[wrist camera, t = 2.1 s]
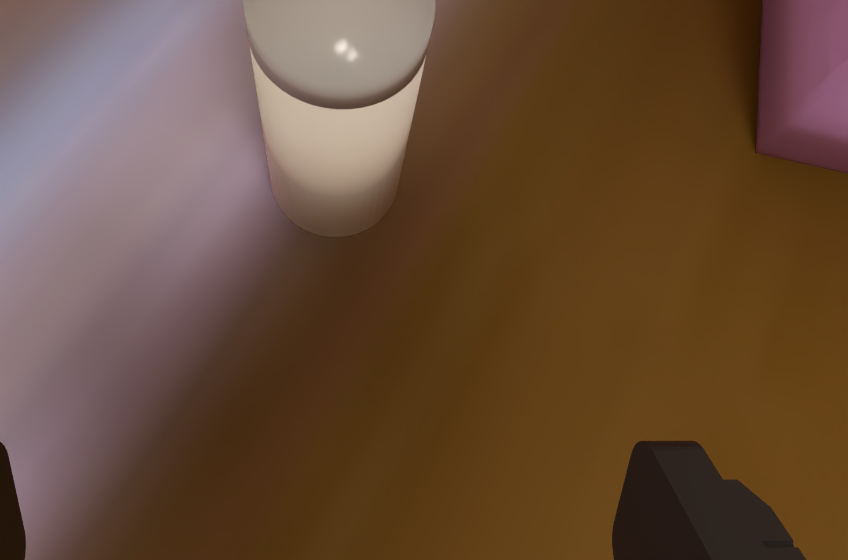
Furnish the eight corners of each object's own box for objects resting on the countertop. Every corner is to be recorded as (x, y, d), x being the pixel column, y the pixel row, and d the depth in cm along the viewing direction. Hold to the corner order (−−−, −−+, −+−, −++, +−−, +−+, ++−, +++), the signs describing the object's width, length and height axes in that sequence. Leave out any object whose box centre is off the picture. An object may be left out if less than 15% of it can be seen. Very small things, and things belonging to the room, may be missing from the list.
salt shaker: (397, 124, 29) (433, -73, 19) (398, 238, 27) (437, 88, 18) (273, 118, 28) (247, -88, 19) (268, 235, 27) (237, 77, 17)
